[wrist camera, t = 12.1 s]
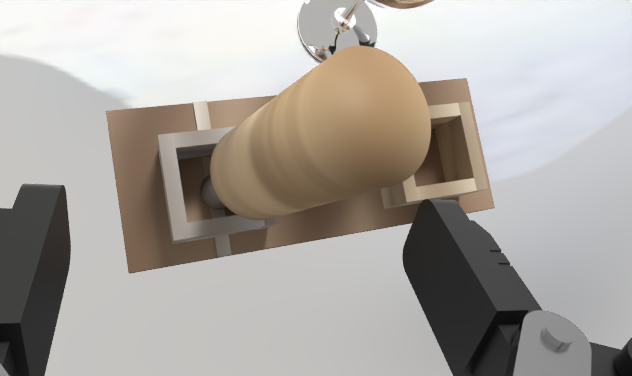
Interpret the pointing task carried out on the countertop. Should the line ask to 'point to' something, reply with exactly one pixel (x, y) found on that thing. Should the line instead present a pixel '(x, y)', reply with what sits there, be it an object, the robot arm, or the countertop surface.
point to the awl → (323, 139)
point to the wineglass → (344, 23)
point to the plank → (307, 225)
